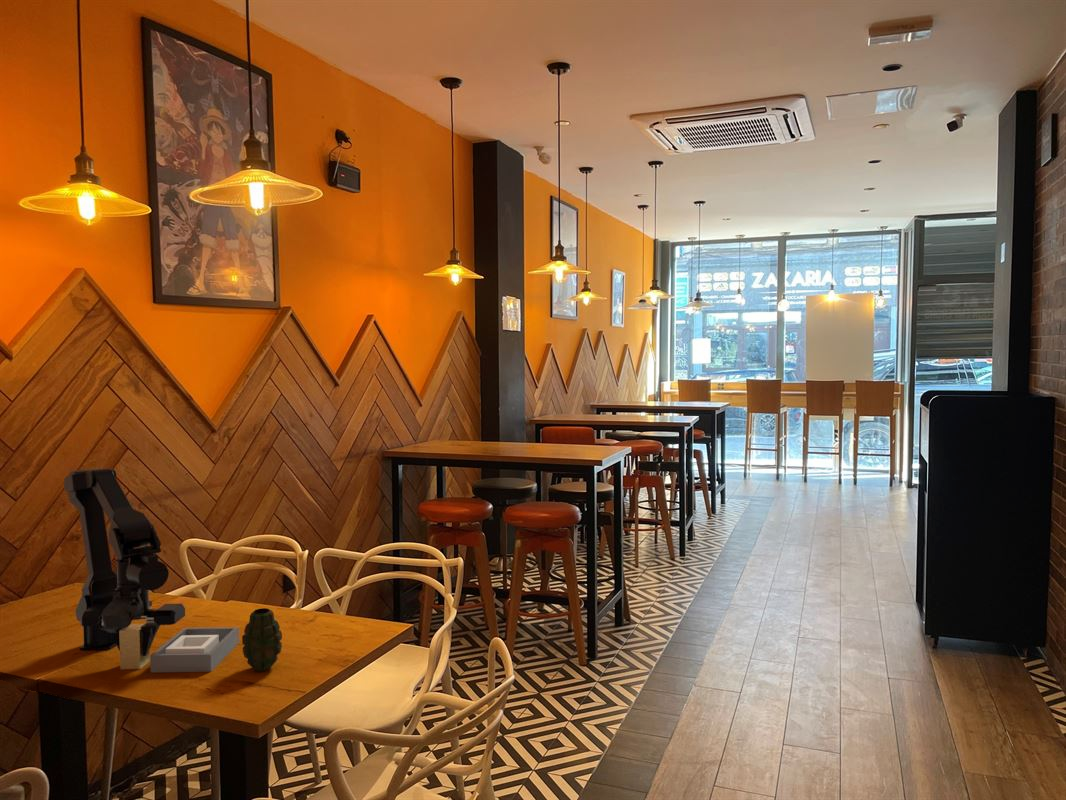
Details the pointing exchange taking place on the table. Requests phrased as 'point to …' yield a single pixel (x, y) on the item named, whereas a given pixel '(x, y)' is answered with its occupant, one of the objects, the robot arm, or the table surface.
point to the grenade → (262, 640)
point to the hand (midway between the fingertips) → (134, 655)
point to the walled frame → (195, 650)
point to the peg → (132, 647)
